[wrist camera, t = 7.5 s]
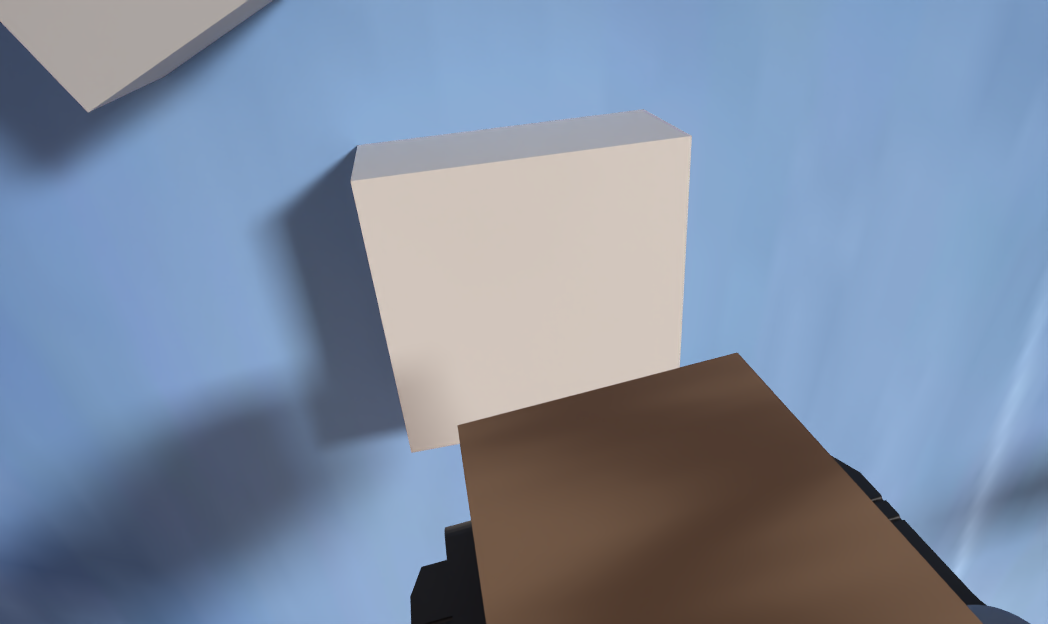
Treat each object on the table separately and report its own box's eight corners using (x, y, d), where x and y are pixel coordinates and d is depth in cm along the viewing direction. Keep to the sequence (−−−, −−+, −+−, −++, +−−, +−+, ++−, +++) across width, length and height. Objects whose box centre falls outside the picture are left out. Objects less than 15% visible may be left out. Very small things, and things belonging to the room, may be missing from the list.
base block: (640, 107, 20) (691, 135, 17) (637, 342, 25) (677, 402, 21) (357, 142, 19) (350, 181, 16) (408, 381, 23) (411, 452, 20)
